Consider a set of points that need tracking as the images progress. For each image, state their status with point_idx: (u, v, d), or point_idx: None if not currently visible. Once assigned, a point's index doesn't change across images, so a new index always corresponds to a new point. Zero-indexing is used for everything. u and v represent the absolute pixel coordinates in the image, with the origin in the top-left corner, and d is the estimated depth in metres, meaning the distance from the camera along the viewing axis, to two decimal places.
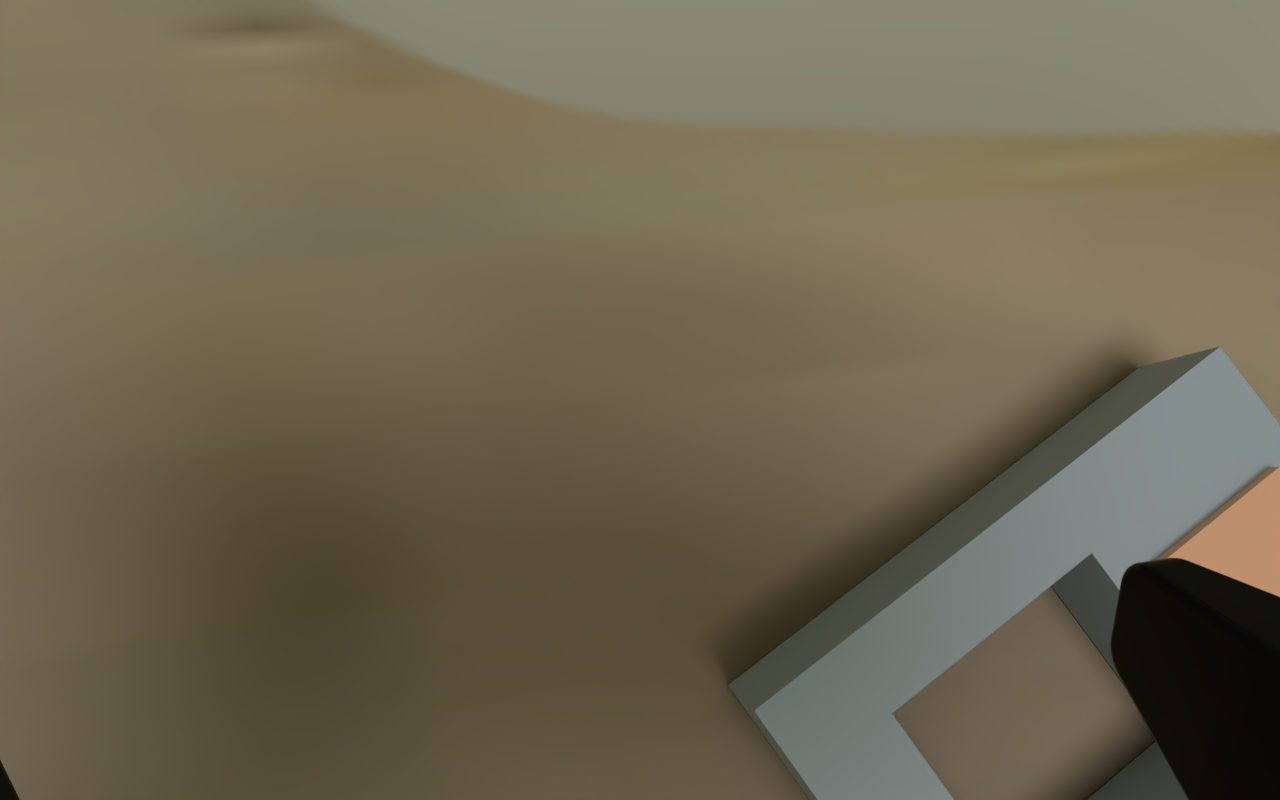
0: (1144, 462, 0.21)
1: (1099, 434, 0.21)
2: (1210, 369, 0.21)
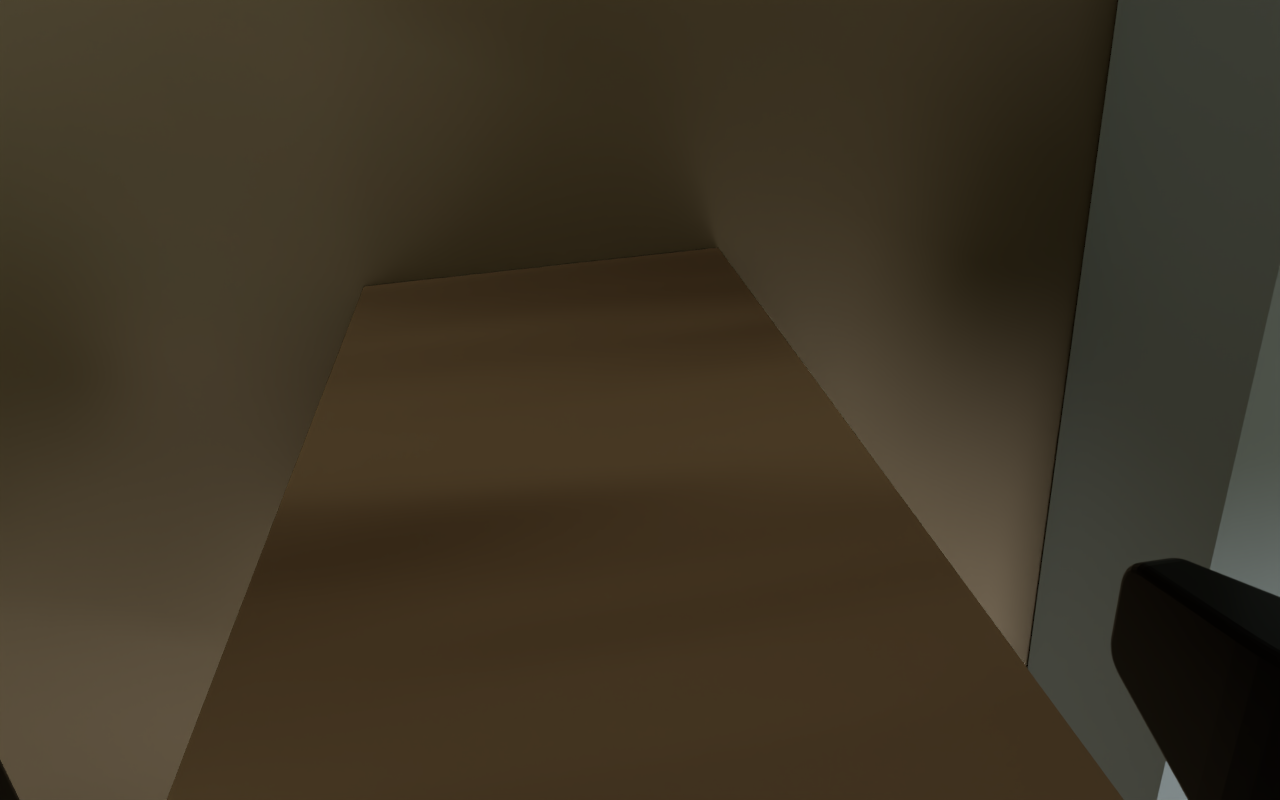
0: None
1: None
2: None
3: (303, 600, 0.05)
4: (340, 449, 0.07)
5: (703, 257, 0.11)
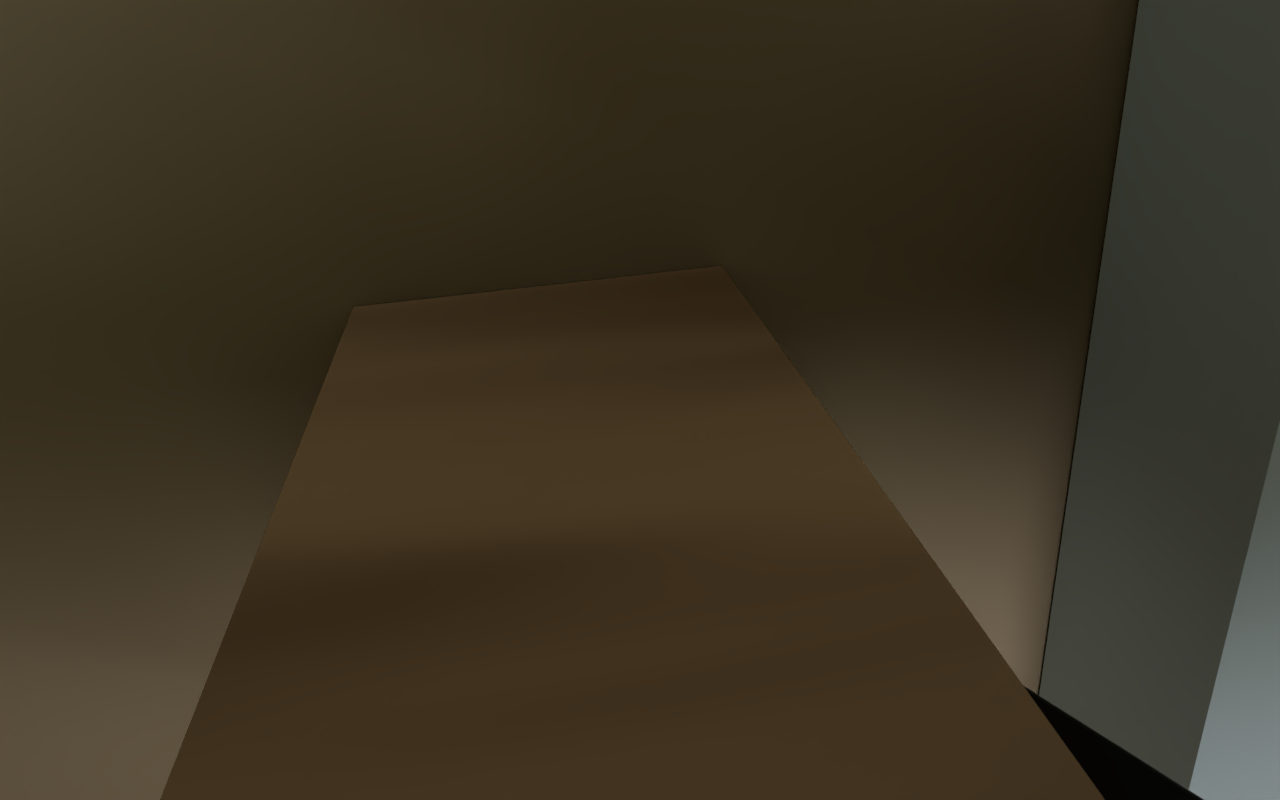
0: None
1: None
2: None
3: (277, 667, 0.05)
4: (323, 489, 0.07)
5: (707, 275, 0.10)
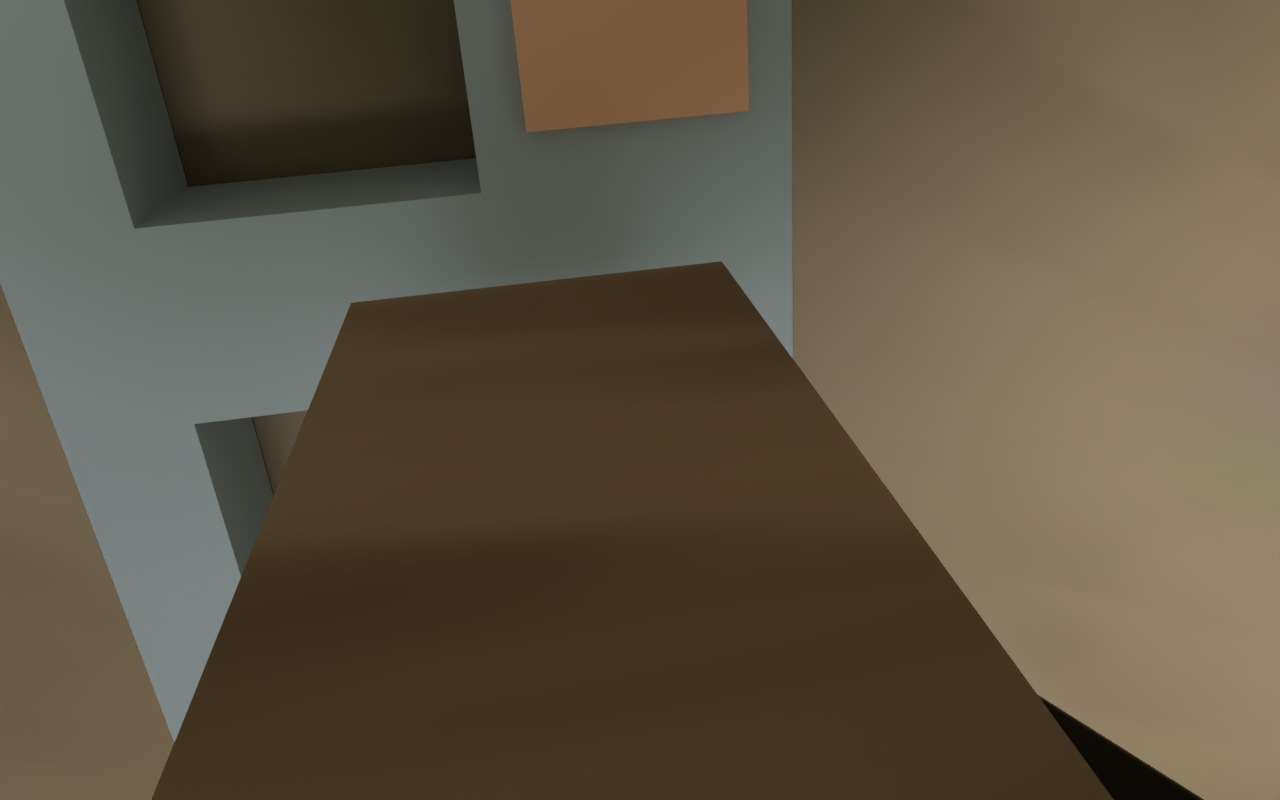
0: None
1: None
2: None
3: (273, 662, 0.05)
4: (319, 484, 0.07)
5: (706, 271, 0.10)
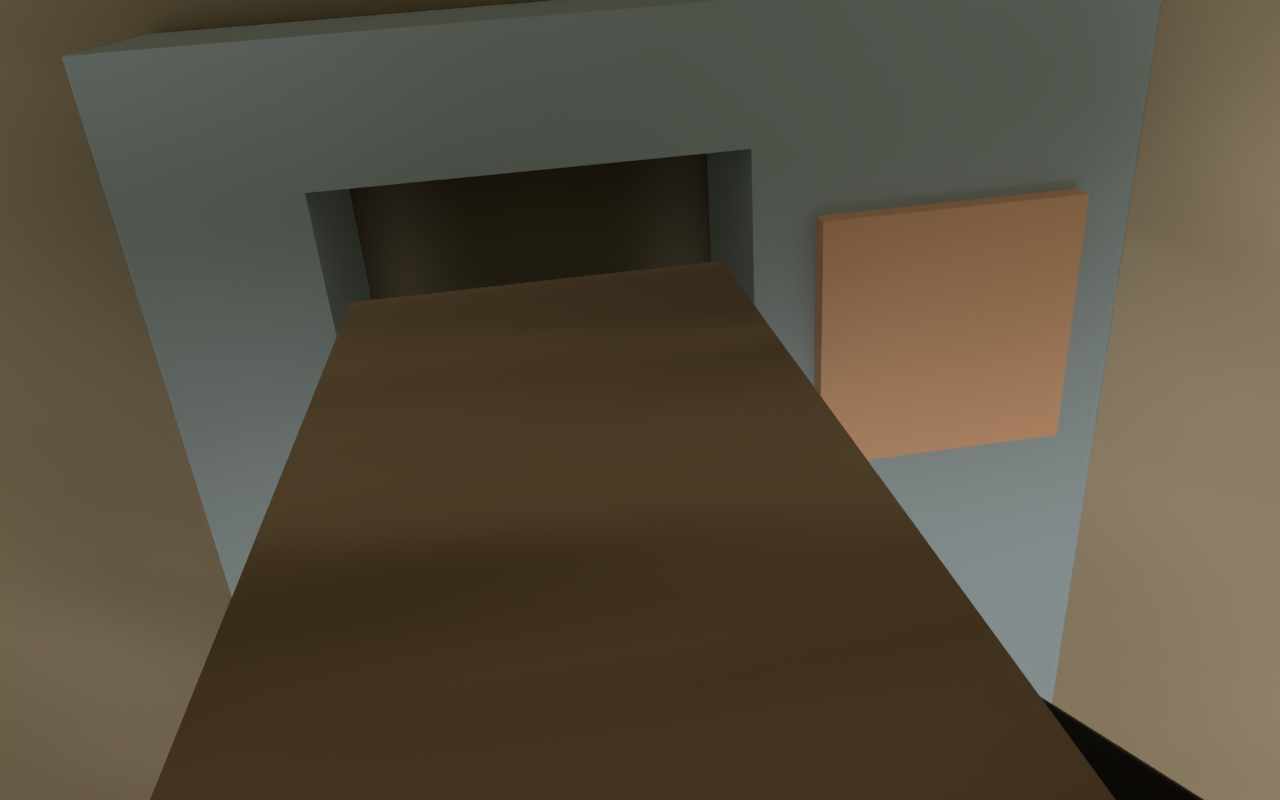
0: (922, 67, 0.12)
1: None
2: None
3: (273, 663, 0.05)
4: (319, 484, 0.07)
5: (706, 271, 0.10)
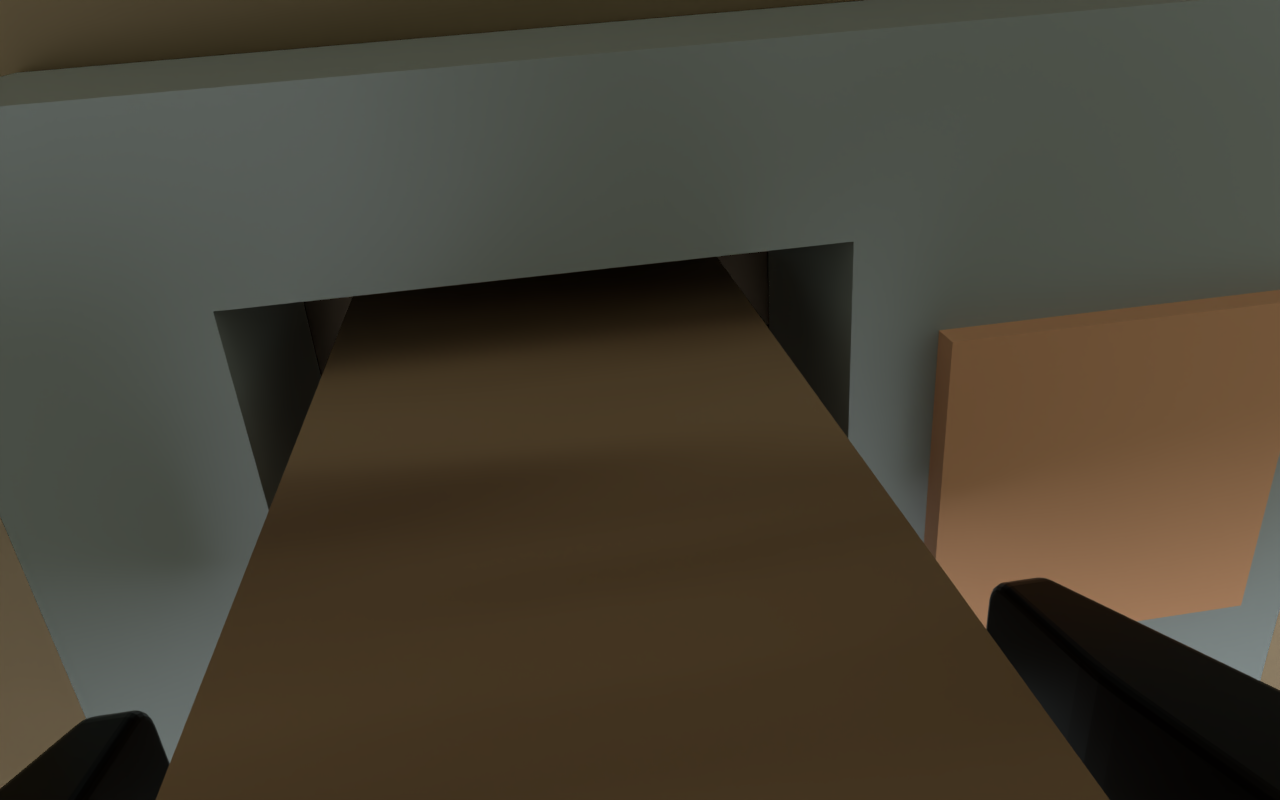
0: (1100, 125, 0.08)
1: (1063, 7, 0.08)
2: None
3: (305, 557, 0.06)
4: (340, 423, 0.08)
5: None
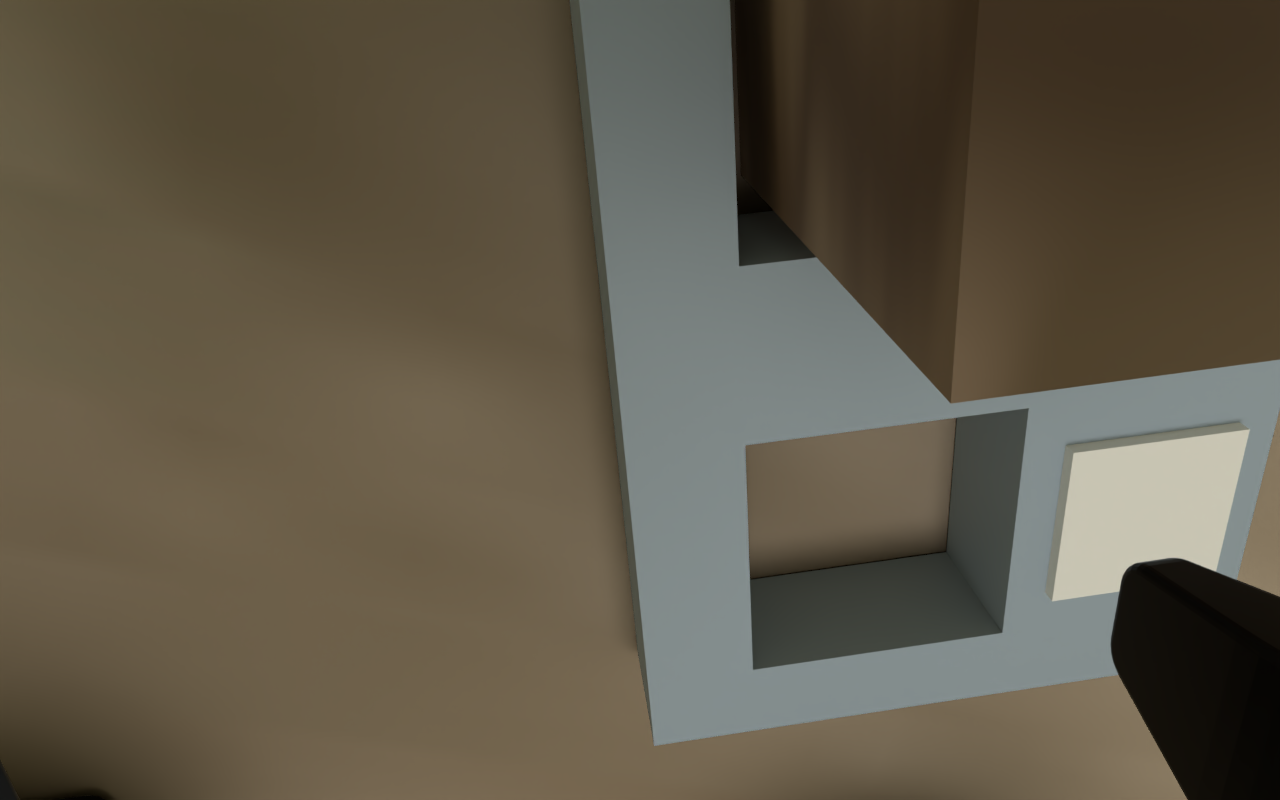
0: None
1: None
2: None
3: None
4: None
5: None
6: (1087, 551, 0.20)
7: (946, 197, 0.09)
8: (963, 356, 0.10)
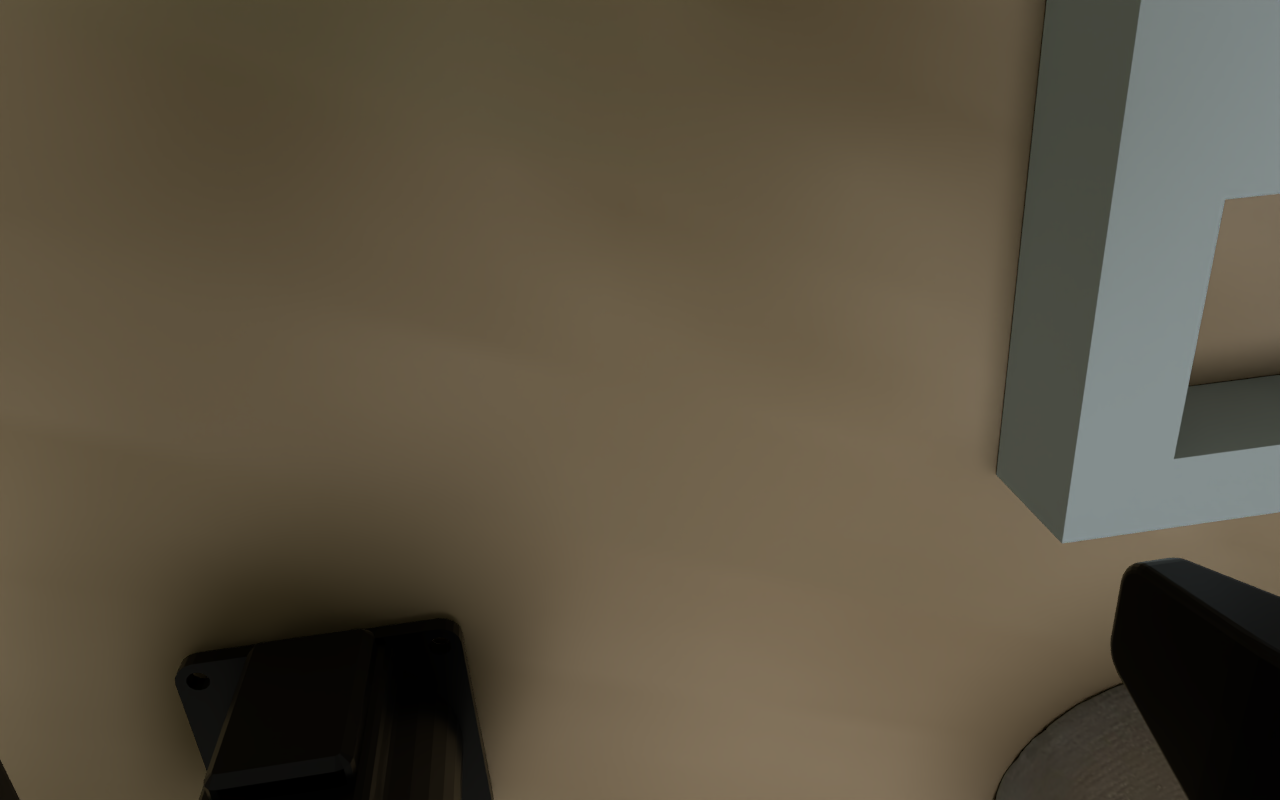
0: None
1: None
2: None
3: None
4: None
5: None
6: None
7: None
8: None
